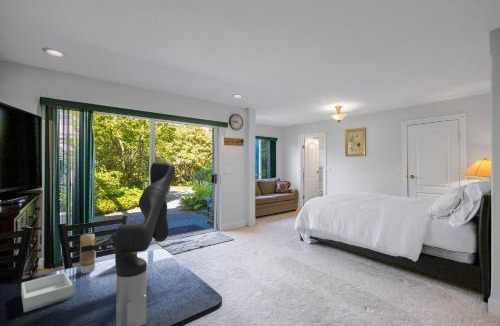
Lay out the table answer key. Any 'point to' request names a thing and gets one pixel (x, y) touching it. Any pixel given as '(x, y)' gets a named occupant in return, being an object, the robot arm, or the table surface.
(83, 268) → the drinking glass
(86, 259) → the wooden cylinder
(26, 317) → the table surface
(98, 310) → the table surface
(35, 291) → the tote
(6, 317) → the table surface
